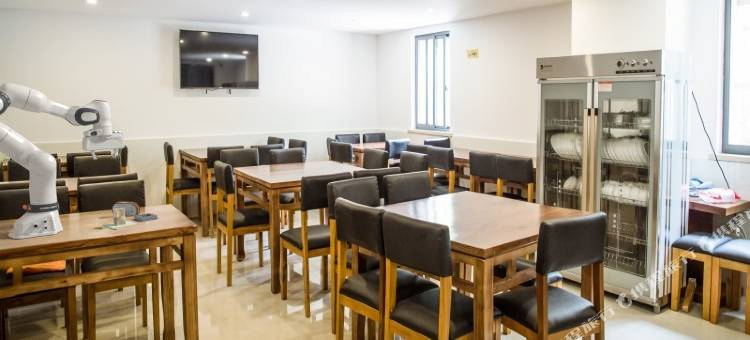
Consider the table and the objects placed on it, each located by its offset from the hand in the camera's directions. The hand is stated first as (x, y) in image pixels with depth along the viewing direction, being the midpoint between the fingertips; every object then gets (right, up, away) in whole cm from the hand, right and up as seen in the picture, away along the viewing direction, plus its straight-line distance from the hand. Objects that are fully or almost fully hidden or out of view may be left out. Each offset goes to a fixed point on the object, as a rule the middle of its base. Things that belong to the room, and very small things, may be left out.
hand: (104, 158), depth 284 cm
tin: (+5, -32, +13) cm, 35 cm away
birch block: (+12, -33, -8) cm, 36 cm away
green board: (+12, -34, -8) cm, 37 cm away
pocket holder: (+20, -33, +3) cm, 38 cm away
